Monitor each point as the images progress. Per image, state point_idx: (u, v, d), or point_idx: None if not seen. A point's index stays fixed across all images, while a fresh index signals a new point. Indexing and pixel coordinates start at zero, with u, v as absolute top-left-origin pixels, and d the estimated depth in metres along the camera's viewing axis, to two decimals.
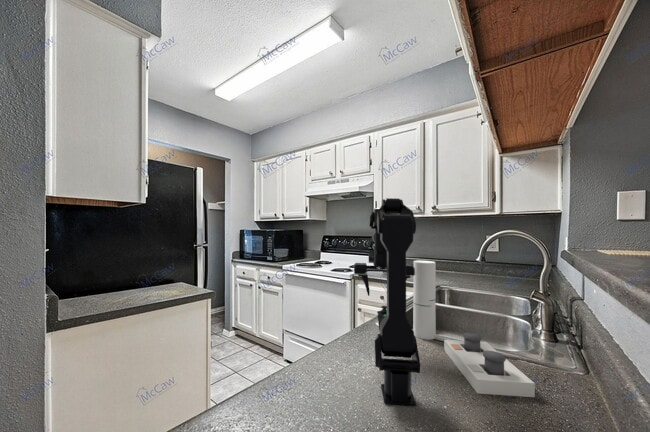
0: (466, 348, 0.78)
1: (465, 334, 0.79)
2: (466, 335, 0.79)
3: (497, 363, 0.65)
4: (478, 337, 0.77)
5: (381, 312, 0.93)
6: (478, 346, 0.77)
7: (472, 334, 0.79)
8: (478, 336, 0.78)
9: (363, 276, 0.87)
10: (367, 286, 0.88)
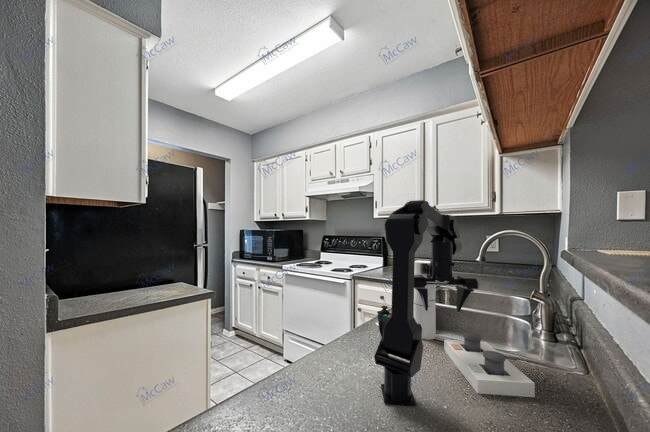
0: (466, 348, 0.78)
1: (465, 334, 0.79)
2: (466, 335, 0.79)
3: (497, 363, 0.65)
4: (478, 337, 0.77)
5: (381, 312, 0.93)
6: (478, 346, 0.77)
7: (472, 334, 0.79)
8: (478, 336, 0.78)
9: (422, 290, 0.80)
10: (426, 301, 0.81)
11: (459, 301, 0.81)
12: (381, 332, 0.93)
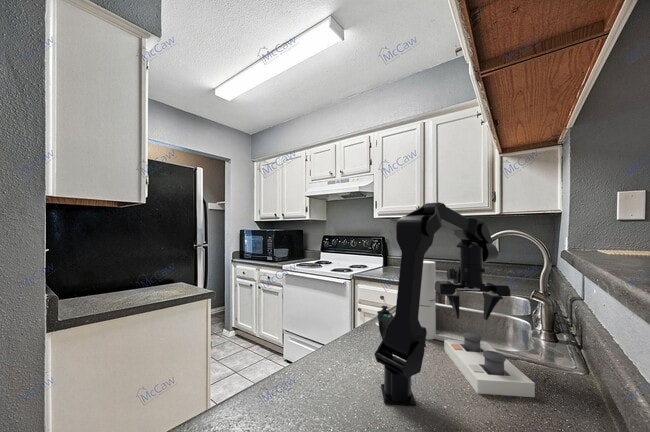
0: (466, 348, 0.78)
1: (465, 334, 0.79)
2: (466, 335, 0.79)
3: (497, 363, 0.65)
4: (478, 337, 0.77)
5: (381, 312, 0.93)
6: (478, 346, 0.77)
7: (472, 334, 0.79)
8: (478, 336, 0.78)
9: (454, 297, 0.77)
10: (457, 308, 0.78)
11: (487, 309, 0.78)
12: (381, 332, 0.93)
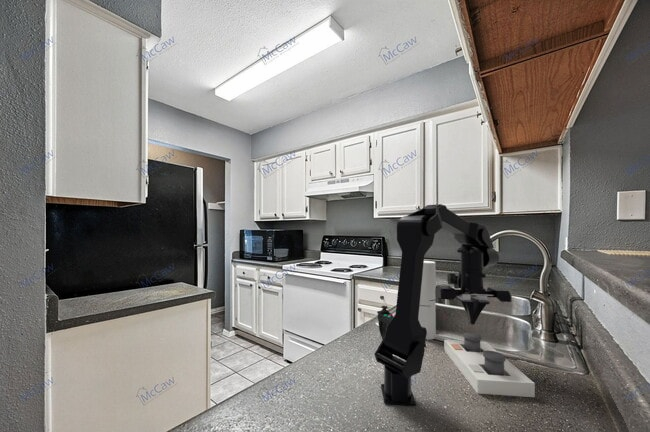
0: (466, 348, 0.78)
1: (465, 334, 0.79)
2: (466, 335, 0.79)
3: (497, 363, 0.65)
4: (478, 337, 0.77)
5: (381, 312, 0.93)
6: (478, 346, 0.77)
7: (472, 334, 0.79)
8: (478, 336, 0.78)
9: (468, 303, 0.76)
10: (471, 314, 0.77)
11: (474, 313, 0.78)
12: (381, 332, 0.93)
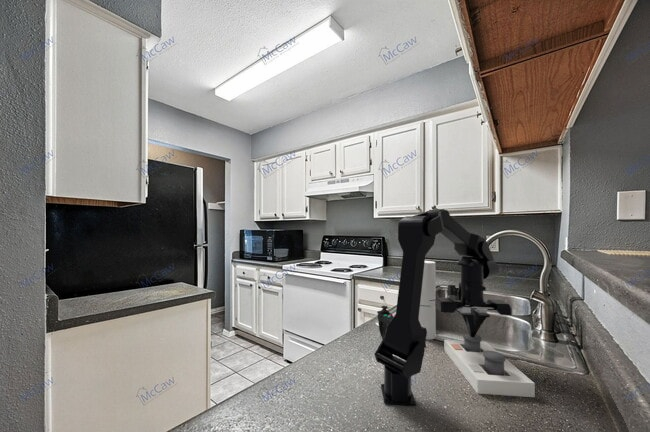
0: (466, 349, 0.78)
1: (465, 335, 0.79)
2: (466, 336, 0.79)
3: (497, 363, 0.65)
4: (478, 338, 0.77)
5: (381, 312, 0.93)
6: (478, 347, 0.77)
7: None
8: (478, 337, 0.78)
9: (468, 316, 0.76)
10: (472, 327, 0.77)
11: (474, 326, 0.78)
12: (381, 332, 0.93)
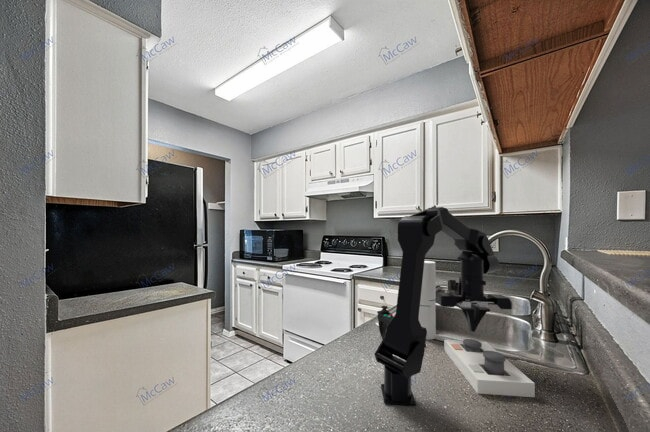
0: None
1: (465, 341, 0.79)
2: (466, 342, 0.79)
3: (497, 363, 0.65)
4: (478, 344, 0.77)
5: (381, 312, 0.93)
6: None
7: (472, 341, 0.79)
8: (478, 343, 0.78)
9: (469, 310, 0.76)
10: (472, 321, 0.77)
11: (474, 321, 0.78)
12: (381, 332, 0.93)
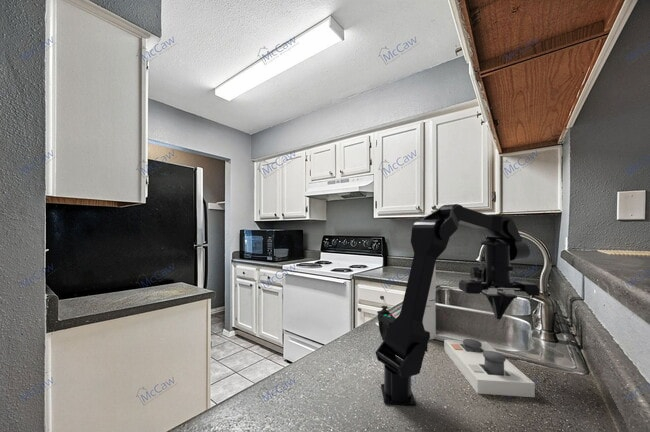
0: None
1: (465, 341, 0.79)
2: (466, 342, 0.79)
3: (497, 363, 0.65)
4: (478, 344, 0.77)
5: (381, 312, 0.93)
6: None
7: (472, 341, 0.79)
8: (478, 343, 0.78)
9: (495, 297, 0.74)
10: (498, 308, 0.75)
11: (500, 308, 0.76)
12: (381, 332, 0.93)
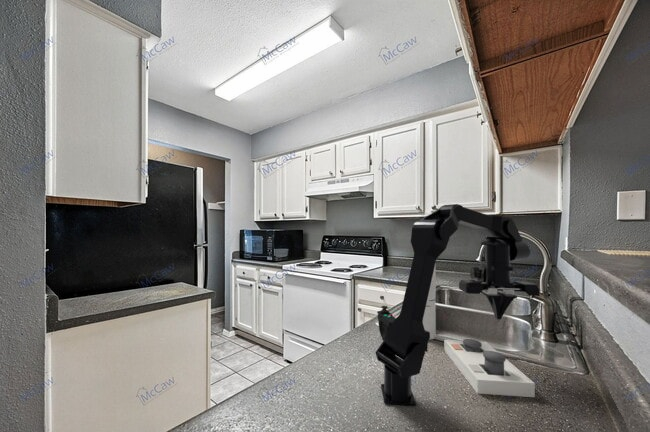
0: None
1: (465, 341, 0.79)
2: (466, 342, 0.79)
3: (497, 363, 0.65)
4: (478, 344, 0.77)
5: (381, 312, 0.93)
6: None
7: (472, 341, 0.79)
8: (478, 343, 0.78)
9: (495, 297, 0.74)
10: (498, 308, 0.75)
11: (500, 308, 0.76)
12: (381, 332, 0.93)
